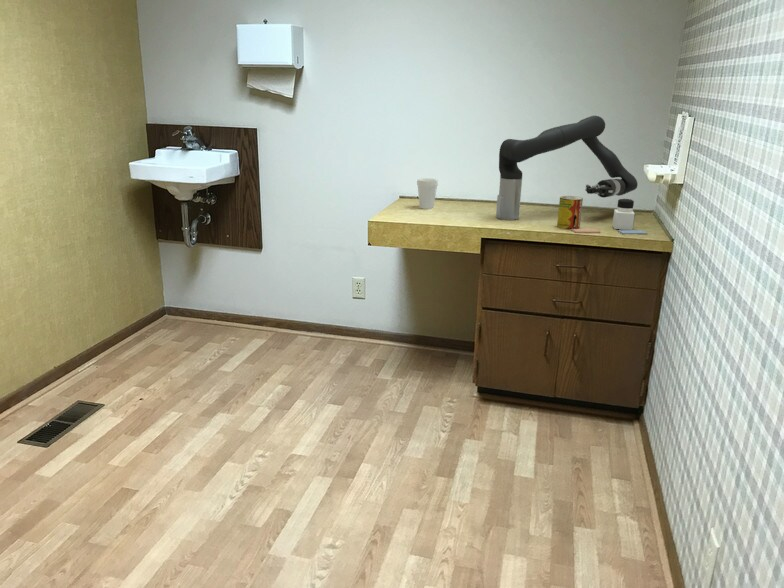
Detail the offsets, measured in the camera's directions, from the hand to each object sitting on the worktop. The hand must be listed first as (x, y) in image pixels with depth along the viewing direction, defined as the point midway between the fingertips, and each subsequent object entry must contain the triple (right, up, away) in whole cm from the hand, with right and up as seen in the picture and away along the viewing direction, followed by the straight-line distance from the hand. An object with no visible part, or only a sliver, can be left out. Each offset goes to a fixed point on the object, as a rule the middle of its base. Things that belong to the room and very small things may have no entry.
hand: (589, 191), depth 268 cm
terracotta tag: (-6, -18, -14) cm, 24 cm away
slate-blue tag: (+13, -19, -15) cm, 27 cm away
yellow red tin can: (-10, -16, -6) cm, 20 cm away
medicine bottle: (+12, -16, -6) cm, 21 cm away
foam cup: (-67, -3, +28) cm, 73 cm away
